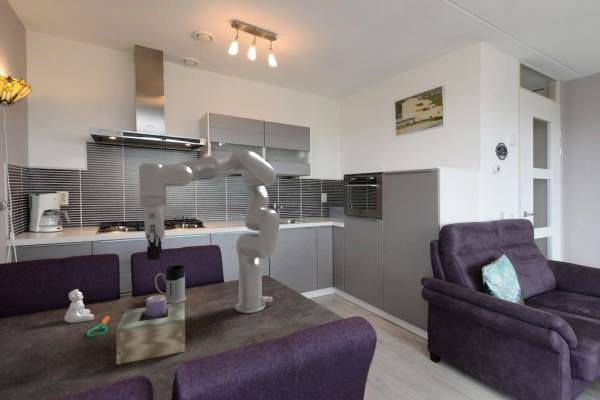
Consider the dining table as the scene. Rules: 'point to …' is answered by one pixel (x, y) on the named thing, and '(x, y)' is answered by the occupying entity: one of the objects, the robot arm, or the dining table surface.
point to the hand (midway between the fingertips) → (154, 256)
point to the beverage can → (156, 307)
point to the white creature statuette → (77, 309)
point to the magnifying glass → (99, 328)
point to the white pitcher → (174, 284)
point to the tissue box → (150, 334)
